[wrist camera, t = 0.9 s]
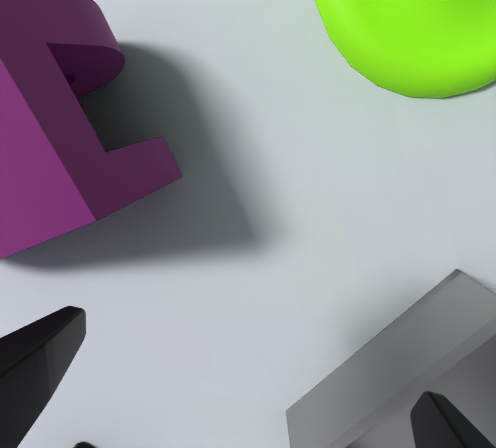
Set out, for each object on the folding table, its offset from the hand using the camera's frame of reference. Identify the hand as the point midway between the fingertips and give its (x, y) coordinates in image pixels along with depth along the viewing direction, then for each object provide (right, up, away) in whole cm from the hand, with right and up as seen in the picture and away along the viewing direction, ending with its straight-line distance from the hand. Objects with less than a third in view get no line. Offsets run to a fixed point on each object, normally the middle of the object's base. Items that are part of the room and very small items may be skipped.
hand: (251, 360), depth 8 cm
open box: (+15, -11, +18) cm, 26 cm away
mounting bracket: (-14, +8, +13) cm, 21 cm away
